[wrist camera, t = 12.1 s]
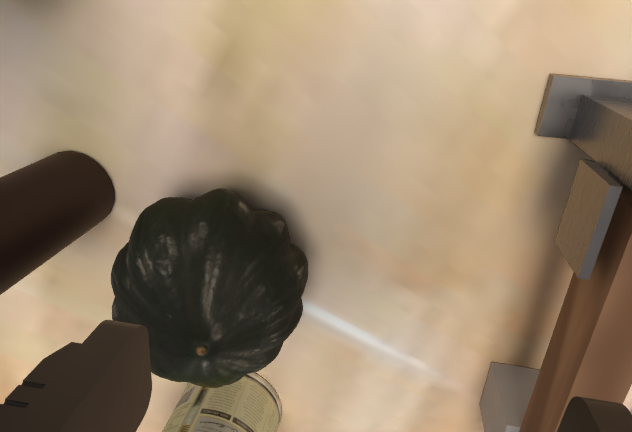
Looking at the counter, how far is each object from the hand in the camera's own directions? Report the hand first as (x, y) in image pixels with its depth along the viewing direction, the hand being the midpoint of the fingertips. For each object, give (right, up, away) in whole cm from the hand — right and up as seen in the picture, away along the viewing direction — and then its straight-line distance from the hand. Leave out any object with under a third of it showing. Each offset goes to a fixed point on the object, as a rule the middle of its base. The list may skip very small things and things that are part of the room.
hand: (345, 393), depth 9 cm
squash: (-8, +1, +33) cm, 34 cm away
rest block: (+17, -12, +34) cm, 40 cm away
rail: (+17, -7, +24) cm, 30 cm away
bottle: (-21, +6, +33) cm, 40 cm away
